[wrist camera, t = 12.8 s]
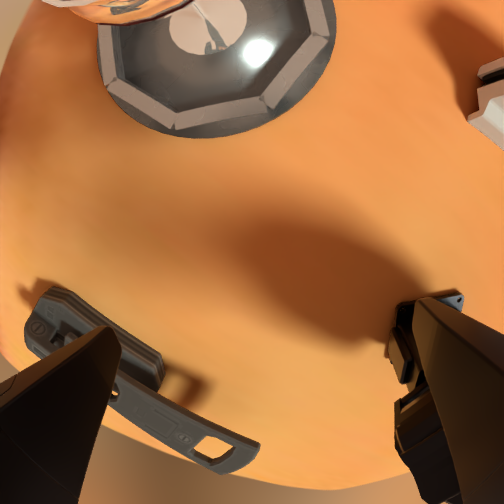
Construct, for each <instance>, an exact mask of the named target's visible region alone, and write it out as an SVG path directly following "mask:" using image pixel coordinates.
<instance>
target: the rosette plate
mask: <svg viewBox="0 0 504 504" xmlns="http://www.w3.org/2000/svg"><path fill="white" fill-rule="evenodd" d="M240 1H241V2H242V3H243V5H244V8H245V10H246V13H247V22H246V26H245V28H244V31H243V33H242V35H241V36H240V37H239V38H238V39H237V40H236V42H235V43H234V44H232V45H230V46H229V47H227V48H226V49H224V50H222V51H219V52H216V53H213V54H204V55H198V54H193V53H188V52H186V51H184V50H183V49H181V48H179V47H178V46H177V45H176V43H175V42H174V41H173V40H172V37H171V34H170V31H169V27H170V19H171V17H172V15H171V16H169V17H166V18H164V19H161V20H156V21H150V22H145V23H141V24H135V25H131V26H111V25H99V24H98V38H97V60H98V66H99V71H100V74H101V77H102V80H103V82H104V86H106V88H107V90H108V92H109V94H110V95H111V97H112V98H113V99H114V101H115V102H116V103H117V104H118V106H119V107H120V108H121V109H122V110H123V111H124V112H125V113H127V114H128V115H129V116H131V117H132V118H133V119H135V120H136V121H137V122H139V123H141V124H143V125H145V126H147V127H148V128H151V129H153V130H156V131H159V132H161V133H164V134H169V135H173V136H177V137H185V138H216V137H224V136H230V135H234V134H238V133H242V132H246V131H249V130H251V129H254V128H257V127H260V126H262V125H264V124H266V123H268V122H270V121H272V120H274V119H276V118H277V117H279V116H281V115H282V114H284V113H285V112H287V111H288V110H290V109H291V108H292V107H293V106H294V105H296V104H297V103H298V102H299V101H300V100H302V98H303V97H304V96H305V95H306V94H307V93H308V92H309V91H310V90H311V89H312V88H313V86H314V85H315V84H316V82H317V81H318V79H319V78H320V77H321V75H322V74H323V72H324V70H325V68H326V66H327V64H328V62H329V60H330V57H331V54H332V51H333V48H334V44H335V38H336V13H335V8H334V3H333V0H240Z"/></svg>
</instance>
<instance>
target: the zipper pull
mask: <svg viewBox="0 0 504 504" xmlns="http://www.w3.org/2000/svg"><path fill="white" fill-rule="evenodd" d="M98 326H111V327H112V328H113V329H114V331H115V334H116V336H117V338H118V340H119V342H120V344H121V347H122V355H121V358H120V362H119V366H118V370H117V374H116V378H115V382H114V386H113V389H112V390H113V391H115V392H117V393H118V395H113V394H112V393H111V396H110V399H109V402H108V404H107V405H109V406H110V407H112V408H113V409H114V410H116V411H117V412H118V413H120V414H121V415H122V416H124V417H125V418H126V419H128V420H129V421H131V422H132V423H133V424H135V425H136V426H138V427H139V428H141V429H142V430H144V431H145V432H147V433H148V434H150V435H151V436H153V437H154V438H156V439H157V440H159V441H161V442H162V443H164V444H165V445H167V446H169V447H170V448H172V449H174V450H175V451H177V452H179V453H180V454H182V455H184V456H186V457H187V458H189V459H191V460H193V461H194V462H196V463H198V464H200V465H202V466H204V467H206V468H208V469H210V470H212V471H214V472H216V473H218V474H220V475H223V474H227V473H232V472H234V471H237V470H239V469H241V468H243V467H244V466H246V465H248V464H249V463H250V462H251V461H252V460H253V459H255V457H256V455H257V453H258V452H259V449H260V446H261V445H260V444H259V442H256V441H254V440H251V439H249V438H247V437H244V436H242V435H240V434H237V433H235V432H233V431H231V430H228V429H226V428H224V427H222V426H220V425H217V424H215V423H213V422H211V421H209V420H207V419H205V418H203V417H201V416H199V415H197V414H195V413H193V412H191V411H189V410H187V409H185V408H183V407H181V406H179V405H178V404H176V403H174V402H172V401H170V400H169V399H167V398H165V397H163V396H161V395H160V394H158V393H157V392H158V390H159V388H160V386H161V384H162V381H163V379H164V376H165V374H166V373H165V368H164V365H163V361H162V357H161V354H160V353H159V352H157V351H156V350H154V349H153V348H151V347H150V346H148V345H147V344H145V343H143V342H142V341H140V340H139V339H137V338H136V337H134V336H133V335H131V334H130V333H128V332H127V331H125V330H124V329H122V328H121V327H119V326H118V325H117V324H115V323H114V322H112V321H111V320H109V319H108V318H107V317H105V316H104V315H103V314H101V313H100V312H98V311H97V310H96V309H94V308H93V307H92V306H90V305H89V304H88V303H87V302H85V301H84V300H83V299H82V298H80V297H79V296H78V295H77V294H75V293H74V292H72V291H68V290H65V289H61V288H57V287H51V288H50V289H49V290H48V291H47V292H46V293H44V294H43V295H42V296H41V297H40V299H39V301H38V303H37V304H36V306H35V308H34V310H33V312H32V313H31V315H30V317H29V318H28V320H27V322H26V323H25V327H24V340H25V343H26V346H27V348H28V349H29V350H30V351H31V352H33V353H34V354H35V355H36V356H38V357H39V358H40V359H43V358H45V357H46V356H48V355H50V354H52V353H53V352H55V351H57V350H58V349H60V348H62V347H64V346H65V345H67V344H69V343H71V342H72V341H74V340H76V339H78V338H79V337H81V336H83V335H84V334H86V333H88V332H90V331H91V330H93V329H95V328H97V327H98ZM206 436H211V437H216V438H218V439H220V440H222V441H224V442H226V443H228V444H230V445H232V446H233V447H232V448H231V449H230V450H228V451H227V452H226V453H224V454H223V455H222V456H220V457H218V458H214V459H212V458H210V457H208V456H206V455H204V454H202V453H200V452H198V451H196V450H195V449H194V447H195V446H196V445H197V444H198V443H199V442H200V441H201V440H203V439H204V438H205V437H206Z"/></svg>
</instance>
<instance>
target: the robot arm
mask: <svg viewBox="0 0 504 504" xmlns="http://www.w3.org/2000/svg"><path fill="white" fill-rule="evenodd" d="M458 298H459V299H458ZM457 299H458V300H457ZM463 302H464V296H463V295H462V293H459V292H458V293H453V294H448V295H443V296H438V297H433V298H431V297H426V298H421V299H418V300H416V301H410V302H404V303H400V304H399V305H397V307H396V312H395V321H394V327H393V328H392V329H391V332H390V340H389V348H388V353H389V355H390V358H389V359H390V363H391V364H393V366H394V369H395V372H396V375H397V377H398V380H399V383H401V384H406V385H407V388H408V391H409V393H408V394H407V395H406V396H404V397H403V398H402V399H401V398H400V399H398V400H397V401H396V402H394V413H395V432H394V439H395V449H396V450H397V452H398V454H399V456H400V458H401V459H402V461H403V462H404V463H405V465H406V466H407V467H409V469H410V471H411V473H412V474H413V476H414V479H415V481H416V484H417V486H418V489H419V493H420V496H421V498H422V499H423V500H424V501H425V502H427V503H428V504H441V503H442V502H446V503H448V504H504V335H503V334H502V333H500V332H498V331H496V330H494V329H492V328H490V327H488V326H486V325H484V324H482V323H481V322H479V321H477V320H475V319H473V318H471V317H469V316H467V315H465V314H463V313H461V311H462V306H463ZM402 308H404V309H403V310H402V311H400V310H401V309H402ZM121 355H122V347H121V344H120V342H119V340H118V338H117V336H116V334H115V331H114V329H113V328H112V327H111V326H98V327H97V328H95V329H93V330H91V331H90V332H88V333H86V334H84V335H83V336H81V337H79V338H78V339H76V340H74V341H72V342H71V343H69V344H67V345H65V346H64V347H62V348H60V349H58V350H57V351H55V352H53V353H52V354H50V355H48V356H46V357H45V358H43V359H41V360H40V361H38V362H36V363H34V364H33V365H31V366H29V367H28V368H26V369H24V370H22V371H21V372H19V373H18V374H16V375H14V376H12V377H11V378H9V379H7V380H5V381H3V382H2V383H0V504H78V501H79V496H80V493H81V488H82V485H83V481H84V478H85V474H86V471H87V467H88V463H89V460H90V457H91V454H92V450H93V447H94V443H95V441H96V437H97V434H98V431H99V428H100V425H101V422H102V419H103V416H104V413H105V410H106V407H107V404H108V402H109V399H110V396H111V393H112V389H113V386H114V382H115V378H116V374H117V370H118V366H119V362H120V358H121Z"/></svg>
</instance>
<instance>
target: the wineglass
mask: <svg viewBox="0 0 504 504" xmlns="http://www.w3.org/2000/svg"><path fill="white" fill-rule="evenodd" d="M42 1H43V2H46V3H49V4H51V5H54V6H56V7H68V8H69V9H70V10H71V11H72V12H73V13H74V14H75V15H78V16H80V17H82V18H84V19H87V20H89V21H91V22H94V23H97V24H99V25H111V26H131V25H135V24H141V23H145V22H150V21H156V20H161V19H164V18H166V17H169V16H171V15H172V17H171V19H170V27H169V31H170V34H171V37H172V40H173V41H174V42H175V43H176V45H177V46H178V47H179V48H181V49H183V50H184V51H186V52H188V53H193V54H198V55H204V54H213V53H216V52H219V51H222V50H224V49H226V48H227V47H229V46H230V45H232V44H234V43H235V42H236V40H237V39H238V38H239V37H240V36H241V35H242V33H243V31H244V28H245V26H246V22H247V13H246V10H245V8H244V5H243V3H242V2H241V1H240V0H42Z"/></svg>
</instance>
